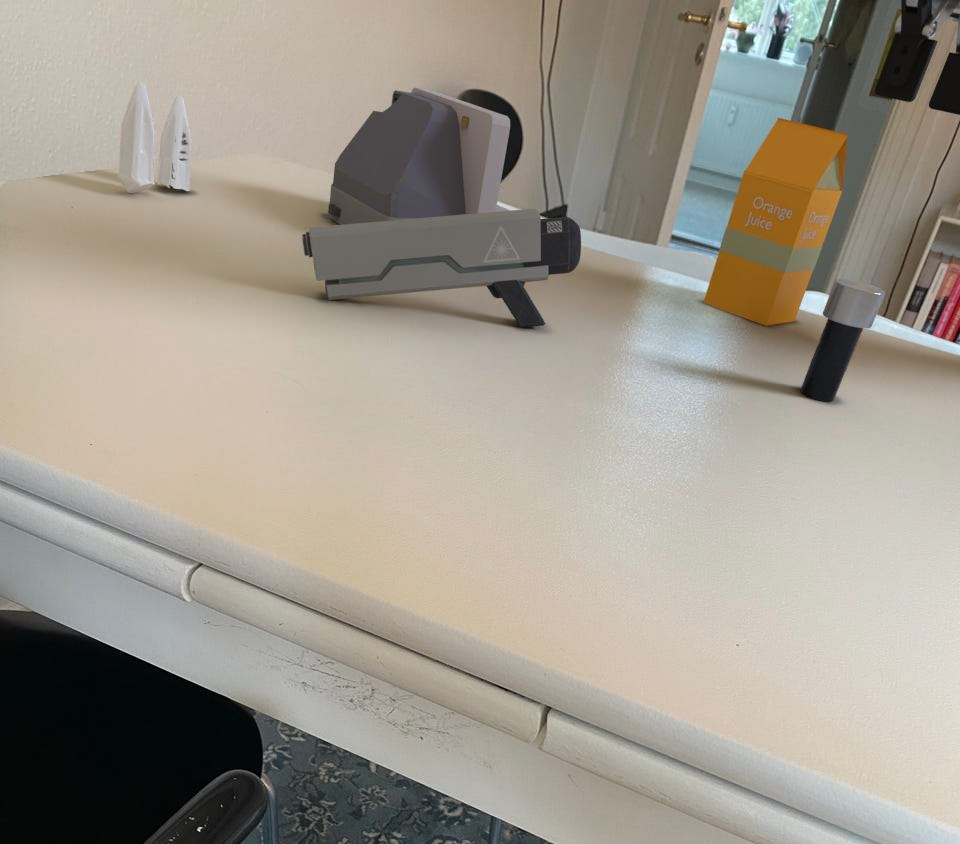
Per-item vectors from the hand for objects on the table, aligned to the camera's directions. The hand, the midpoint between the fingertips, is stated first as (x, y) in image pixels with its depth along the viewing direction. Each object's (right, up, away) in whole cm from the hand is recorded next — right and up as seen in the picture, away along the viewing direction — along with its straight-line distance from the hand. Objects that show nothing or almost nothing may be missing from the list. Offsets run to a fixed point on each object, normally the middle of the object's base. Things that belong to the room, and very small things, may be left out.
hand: (920, 105), depth 72 cm
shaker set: (-73, +9, +33) cm, 81 cm away
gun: (-40, -12, +13) cm, 43 cm away
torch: (-4, -20, +13) cm, 24 cm away
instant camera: (-43, +6, +38) cm, 58 cm away
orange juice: (-3, -3, +37) cm, 38 cm away
